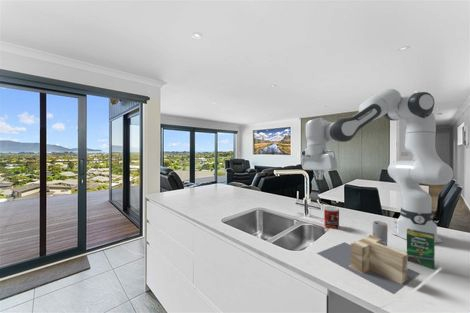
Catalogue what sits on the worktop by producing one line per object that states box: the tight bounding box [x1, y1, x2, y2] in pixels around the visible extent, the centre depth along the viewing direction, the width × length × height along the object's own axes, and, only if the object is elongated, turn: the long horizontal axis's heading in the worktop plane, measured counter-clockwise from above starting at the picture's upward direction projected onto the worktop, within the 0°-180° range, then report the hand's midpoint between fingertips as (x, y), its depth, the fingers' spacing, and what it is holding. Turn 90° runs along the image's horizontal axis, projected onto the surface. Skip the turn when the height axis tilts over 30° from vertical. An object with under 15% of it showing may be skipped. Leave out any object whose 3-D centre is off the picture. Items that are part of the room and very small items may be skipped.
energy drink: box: [372, 220, 389, 247], centre depth 89 cm, size 5×5×12 cm
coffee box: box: [406, 229, 436, 270], centre depth 77 cm, size 8×3×13 cm, turn 39°
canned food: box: [323, 206, 340, 230], centre depth 116 cm, size 8×8×11 cm
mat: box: [316, 242, 421, 295], centre depth 78 cm, size 20×28×1 cm
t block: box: [350, 235, 409, 284], centre depth 73 cm, size 14×14×9 cm
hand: (319, 179), depth 97 cm, fingers closed
